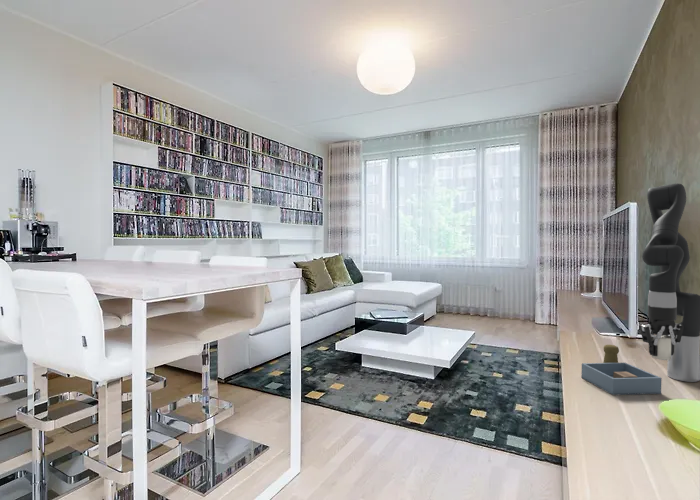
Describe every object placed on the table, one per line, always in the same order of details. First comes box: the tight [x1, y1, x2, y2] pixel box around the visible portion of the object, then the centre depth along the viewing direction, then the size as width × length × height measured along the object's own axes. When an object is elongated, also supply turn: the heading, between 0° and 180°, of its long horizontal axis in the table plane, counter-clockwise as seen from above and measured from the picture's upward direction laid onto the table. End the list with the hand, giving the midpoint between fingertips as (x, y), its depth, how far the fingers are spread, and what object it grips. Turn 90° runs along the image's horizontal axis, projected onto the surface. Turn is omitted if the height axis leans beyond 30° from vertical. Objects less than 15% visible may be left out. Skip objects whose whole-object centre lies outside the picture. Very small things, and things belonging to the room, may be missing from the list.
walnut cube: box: [613, 372, 638, 378], centre depth 139 cm, size 5×5×5 cm
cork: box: [602, 344, 620, 363], centre depth 157 cm, size 6×6×11 cm
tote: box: [581, 362, 663, 396], centre depth 143 cm, size 18×17×6 cm
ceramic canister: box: [651, 334, 671, 361], centre depth 130 cm, size 5×5×7 cm
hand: (661, 354), depth 130 cm, fingers closed on ceramic canister, 5 cm apart
